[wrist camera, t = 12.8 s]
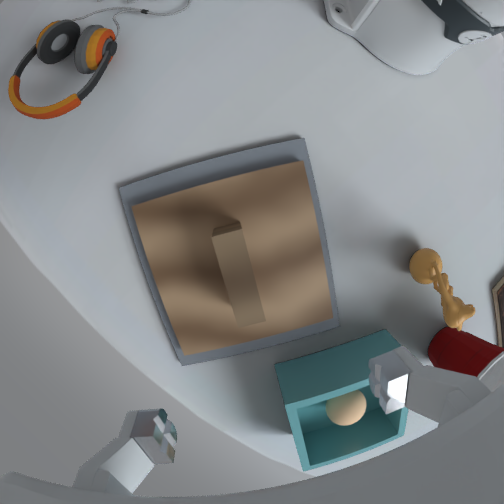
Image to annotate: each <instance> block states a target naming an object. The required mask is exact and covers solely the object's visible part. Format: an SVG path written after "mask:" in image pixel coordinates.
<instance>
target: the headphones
mask: <svg viewBox="0 0 504 504" xmlns="http://www.w3.org/2000/svg"><path fill="white" fill-rule="evenodd" d="M97 1H98V2H100V1H103V0H97ZM136 1H138V0H134V1H129V0H127V2H128V3H133V2H136ZM190 3H191V0H189V2H188V5H187V6H186V7H185V8H183V9H182V10H180V11H177V12H174V13H167V14H162V13H153V12H149V11H148V10H144V9H142V10H141V9H136V8H128V7H115V8H108V9H103V10H99V11H96V12H93V13H91V14H89V15H86V16H84V17H81V18H76V19H73V20H62V21H56V22H52V23H51V24H49V25H48V26H46V27H45V28H44V29H43V31H42V32H41V33H40V35H39V37H38V39H37V43H36V44H35V45H34V46H33V47H32V48H31V50H30V51H29V52H28V53H27V54H26V55H25V56H24V58H23V59H22V60H21V62H20V63H19V65H18V66H17V68H16V70H15V72H14V75H13V76H12V77H11V78H10V81H9V88H8V91H9V98H10V101H11V102H12V104H13V106H14V107H15V108H16V109H17V111H19V112H20V113H22V114H24V115H26V116H29V117H32V118H36V119H50V118H54V117H58V116H61V115H63V114H66V113H67V112H69V111H71V110H73V109H75V108H76V107H78V106H79V105H80V104H81V101H82V100H83V99H84V98H85V97H86V96H87V95H88V94H89V93H90V92H91V91H92V90H93V89H94V87H95V86H96V85H97V83H98V81H99V80H100V78H101V76H102V75H103V73H104V71H105V69H106V68H107V66H108V64H109V63H110V61H111V59H112V58H113V55H114V54H115V52H116V49H117V43H116V41H117V39H118V37H119V33H120V27H119V24H118V23H117V21H116V19H115V17H116V16H117V15H118V14H120V13H124V12H130V11H136V12H141V13H145V14H147V13H148V14H153V15H173V14H177V13H180V12H182V11H184V10H185V9H187V8H188V7H189V5H190ZM113 9H130V10H125V11H121V12H119V13H117V14H116V15H115V16H114V17H113V20H114V22H115V24H116V25H117V29H118V33H117V36H116V38H115V34H114V32H113V31H112V30H110V29H106V28H104V27H103V26H101V25H91V26H88V27H87V28H86V29H85V30H84V31H83V32H82V34H81V35H80V28H79V26H78V24H77V23H75V22H73V21H75V20H80V19H83V18H86V17H88V16H90V15H92V14H95V13H98V12H102V11H106V10H113ZM75 46H76V47H75ZM74 48H75V64H76V67H77V69H78V71H79V72H80V73H83V74H90V73H93V72H94V71H95V73H94V74H93V76H92V78H91V79H90V80H89V82H88V83H87V84H86V85H85V86H84V87H83V88H82V89H81V90H80V91H79V92H78V93H77V94H72V95H71V96H69V97H67V98H66V99H64V100H62V101H60V102H58V103H56V104H53V105H50V106H46V107H31V106H28V105H26V104H25V103H23V102H22V100H21V99H20V95H19V86H20V79H19V78H20V76H21V74H22V72H23V70H24V68H25V67H26V65H27V64H28V63H29V61H30V60H31V59H32V58H33V57H34V56H35V55H36V53H37V55H38V58H39V59H40V60H41V61H43V62H44V63H46V64H54V63H57V62H59V61H61V60H62V59H64V58H65V57H66V56H68V55H69V54H70V52H71V51H72V50H73V49H74Z"/></svg>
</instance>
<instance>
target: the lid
mask: <svg viewBox="0 0 504 504" xmlns="http://www.w3.org/2000/svg"><path fill="white" fill-rule="evenodd" d="M131 207H132V210H133V214H134V217H135V221H136V224H137V227H138V231H139V234H140V237H141V240H142V244H143V247H144V250H145V253H146V256H147V259H148V262H149V265H150V268H151V271H152V274H153V277H154V279H155V282H156V285H157V288H158V291H159V293H160V296H161V299H162V301H163V304H164V307H165V309H166V312H167V314H168V317H169V320H170V322H171V325H172V327H173V330H174V332H175V334H176V337H177V339H178V342H179V344H180V346H181V349H182V351H183V353H184V356H186V355H191V354H196V353H201V352H205V351H210V350H215V349H219V348H224V347H228V346H233V345H237V344H241V343H245V342H249V341H253V340H257V339H261V338H265V337H269V336H273V335H277V334H280V333H284V332H288V331H291V330H295V329H298V328H302V327H305V326H309V325H312V324H315V323H319V322H322V321H325V320H329V319H332V318H333V312H332V305H331V299H330V292H329V286H328V280H327V274H326V268H325V262H324V257H323V251H322V246H321V240H320V235H319V230H318V225H317V220H316V215H315V210H314V205H313V201H312V196H311V192H310V187H309V183H308V178H307V174H306V170H305V165H304V161H303V160H302V161H297V162H293V163H288V164H283V165H279V166H274V167H270V168H266V169H261V170H257V171H253V172H249V173H245V174H241V175H237V176H233V177H229V178H225V179H222V180H218V181H214V182H210V183H207V184H203V185H200V186H196V187H193V188H189V189H186V190H182V191H179V192H175V193H172V194H169V195H166V196H162V197H159V198H156V199H153V200H150V201H146V202H143V203H140V204H137V205H134V206H131Z"/></svg>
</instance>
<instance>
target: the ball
mask: <svg viewBox="0 0 504 504" xmlns="http://www.w3.org/2000/svg"><path fill="white" fill-rule="evenodd" d="M365 410H366V399H365V397H364V395H363V393H362V392H361V391H360V390H358V389H357V390H355V391H352V392H349V393H346V394H343V395H340V396H337V397H334V398H331V399H328V400H327V402H326V413H327V416H328V417H329V419H330V420H331V421H332V422H334V423H336V424H338V425H344V426H345V425H351V424H353V423H355V422H357V421H358V420H359V419H360V418H361V417H362V416H363V414H364V413H365Z"/></svg>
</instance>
